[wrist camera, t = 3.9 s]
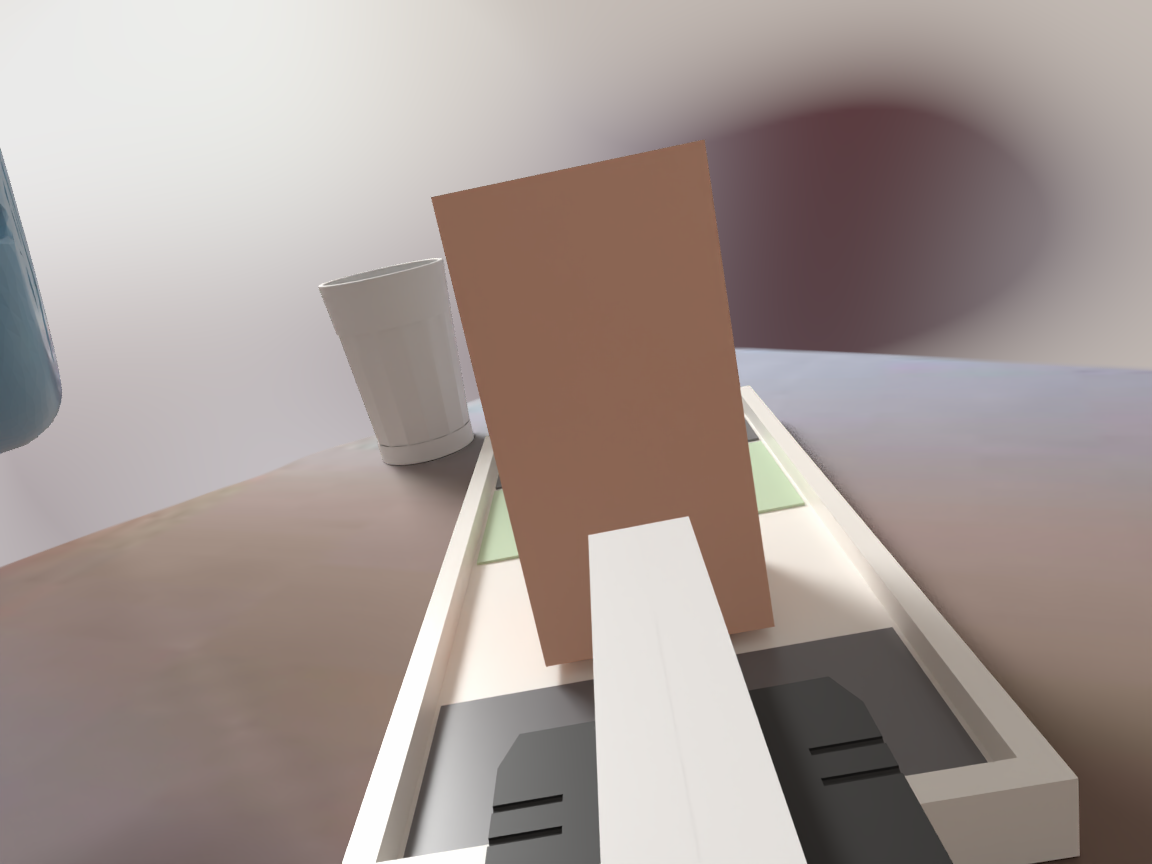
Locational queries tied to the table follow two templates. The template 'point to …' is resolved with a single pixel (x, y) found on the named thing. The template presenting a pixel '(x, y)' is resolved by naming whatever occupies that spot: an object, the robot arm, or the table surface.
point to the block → (607, 374)
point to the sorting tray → (766, 657)
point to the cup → (403, 358)
